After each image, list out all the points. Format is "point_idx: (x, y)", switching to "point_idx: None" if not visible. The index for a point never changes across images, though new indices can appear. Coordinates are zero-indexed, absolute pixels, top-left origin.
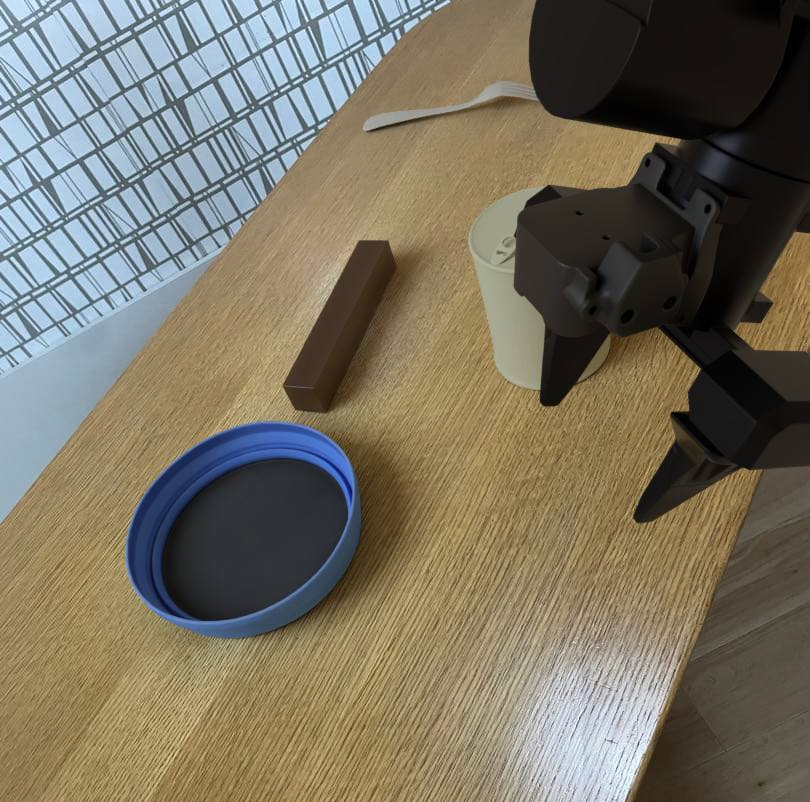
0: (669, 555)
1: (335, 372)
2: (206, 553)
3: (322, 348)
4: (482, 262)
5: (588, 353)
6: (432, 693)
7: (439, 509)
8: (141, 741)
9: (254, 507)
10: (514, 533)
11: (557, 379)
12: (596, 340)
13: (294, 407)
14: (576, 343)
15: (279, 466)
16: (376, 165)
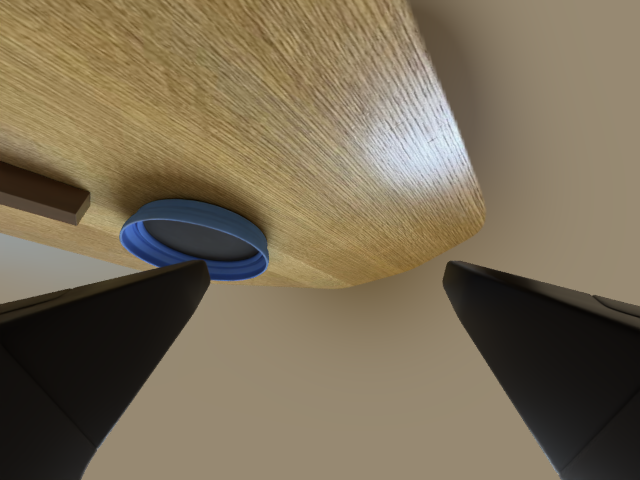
0: None
1: (40, 187)
2: (213, 251)
3: (16, 200)
4: None
5: (123, 306)
6: (335, 203)
7: (197, 161)
8: (297, 269)
9: (184, 235)
10: (234, 123)
11: (183, 308)
12: (87, 322)
13: (88, 207)
14: (120, 355)
15: (149, 221)
16: None
